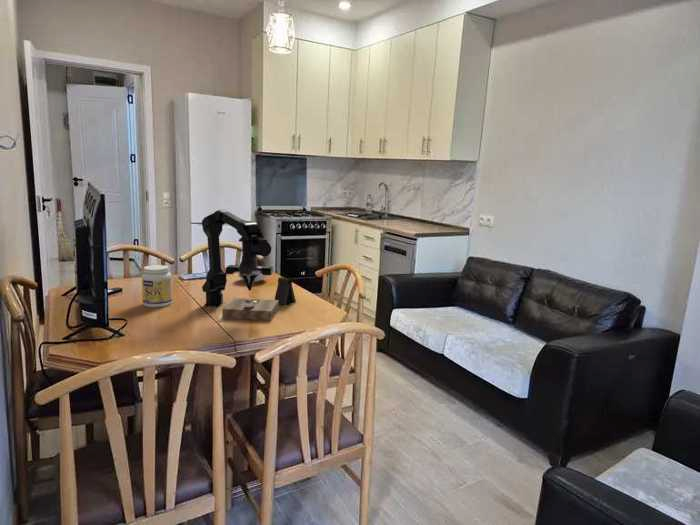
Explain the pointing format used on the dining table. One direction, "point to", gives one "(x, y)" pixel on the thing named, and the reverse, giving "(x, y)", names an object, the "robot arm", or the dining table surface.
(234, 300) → the walnut block
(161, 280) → the supplement tub
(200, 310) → the dining table surface
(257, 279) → the cereal bowl
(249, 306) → the black capped peg
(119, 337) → the dining table surface
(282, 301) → the phone stand
